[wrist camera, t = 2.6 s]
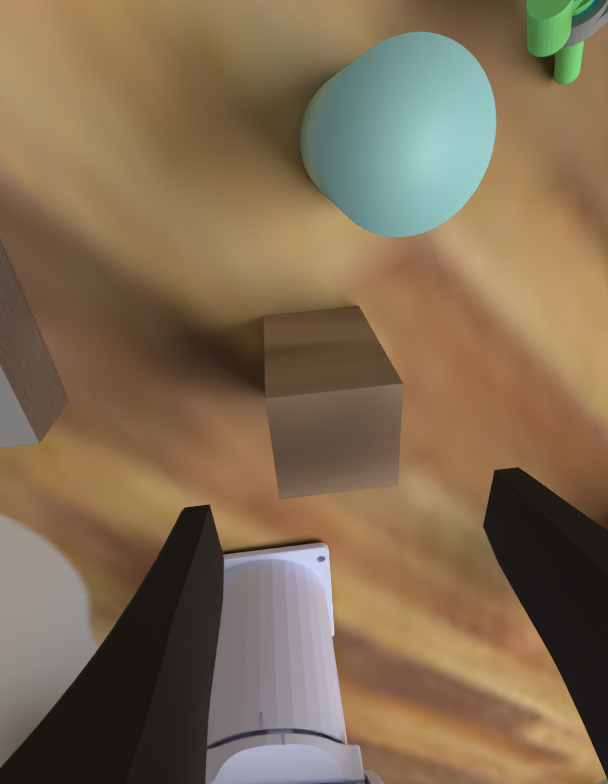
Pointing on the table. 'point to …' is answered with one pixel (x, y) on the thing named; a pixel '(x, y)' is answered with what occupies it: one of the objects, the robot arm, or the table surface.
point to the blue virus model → (563, 31)
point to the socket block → (24, 369)
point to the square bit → (330, 403)
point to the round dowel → (401, 134)
